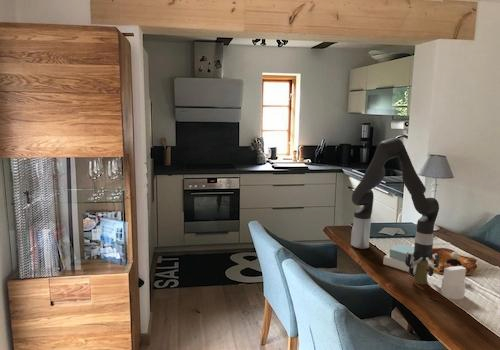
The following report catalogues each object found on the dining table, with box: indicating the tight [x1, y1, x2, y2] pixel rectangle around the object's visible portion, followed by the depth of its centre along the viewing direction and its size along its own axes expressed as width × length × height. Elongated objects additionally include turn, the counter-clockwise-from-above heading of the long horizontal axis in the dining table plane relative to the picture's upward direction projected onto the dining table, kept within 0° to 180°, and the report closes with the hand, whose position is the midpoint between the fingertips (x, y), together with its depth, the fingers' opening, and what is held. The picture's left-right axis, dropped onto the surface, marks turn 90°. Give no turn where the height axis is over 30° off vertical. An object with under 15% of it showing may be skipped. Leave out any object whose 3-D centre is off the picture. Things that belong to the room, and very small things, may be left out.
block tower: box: [382, 243, 417, 275], centre depth 205 cm, size 16×16×8 cm
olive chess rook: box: [412, 260, 429, 286], centre depth 186 cm, size 6×6×11 cm
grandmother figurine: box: [443, 251, 463, 267], centre depth 190 cm, size 8×4×13 cm, turn 71°
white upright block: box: [440, 265, 467, 300], centre depth 173 cm, size 9×9×12 cm
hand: (420, 275), depth 186 cm, fingers open, 8 cm apart
